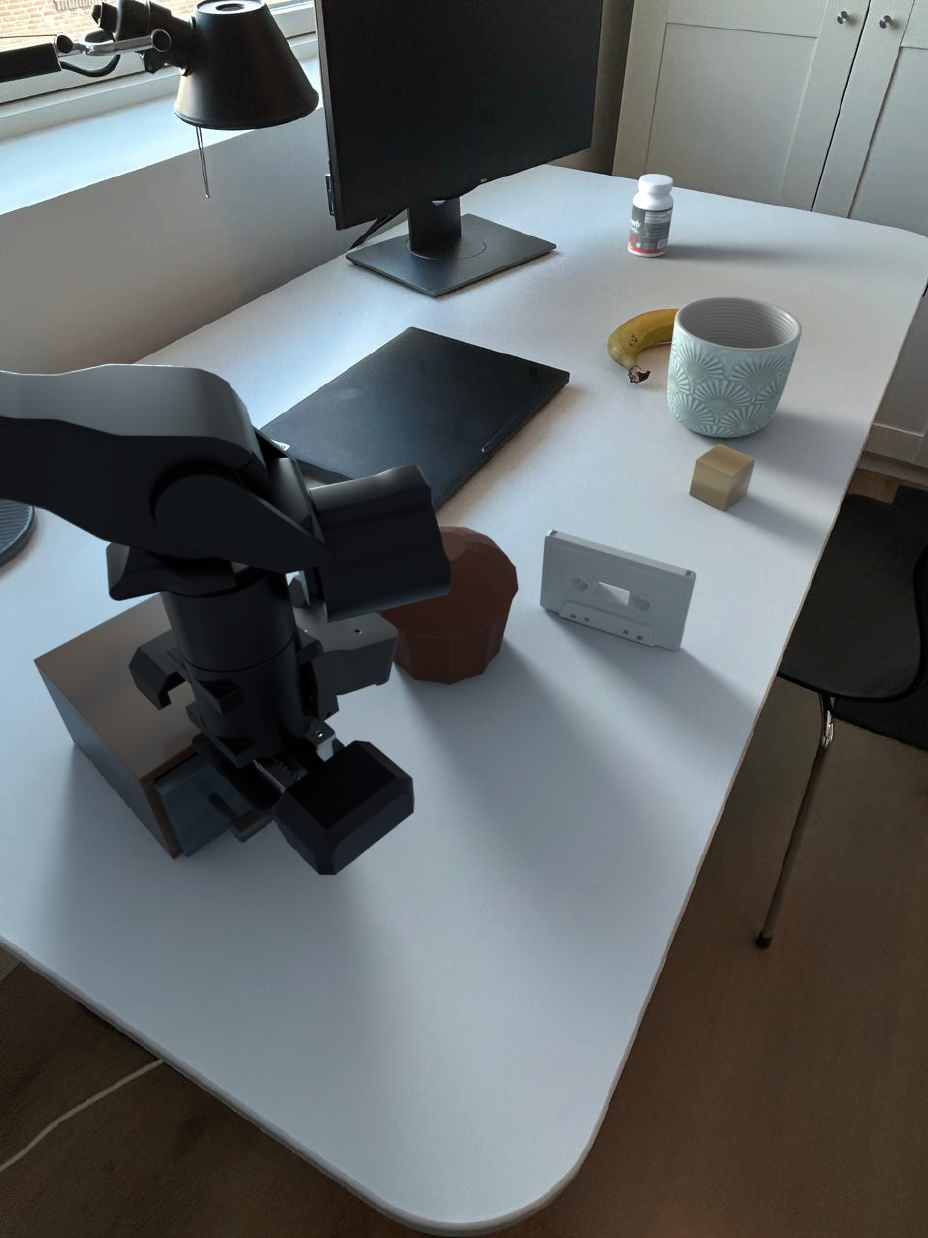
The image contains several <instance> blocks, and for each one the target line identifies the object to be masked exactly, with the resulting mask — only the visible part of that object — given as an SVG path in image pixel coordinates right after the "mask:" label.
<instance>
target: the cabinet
mask: <svg viewBox="0 0 928 1238" xmlns="http://www.w3.org/2000/svg"><path fill="white" fill-rule="evenodd" d="M171 628H172V627H171V624H170V622H169V619H168V616H167V613H166V610H165V607H164V604H163V601H162V598H161V595H160V592H158V593H155V594H153V595H152V596H149V597H148V598H146V599H144V600H143V601H141V602H138V603H137V604H135V605H133V606H131V607H129V608H127V609H126V610H123V611H122V612H120V613H118V614H116V615H114V616H113V617H110V618H108V619H106V620H105V621H103V622H101V623H100V624H97V625H95V626H93V627H92V628H90V629H88V630H86V631H84V632H83V633H81V634H79V635H76V636H75V637H73V638H71V639H70V640H68V641H65V642H63V643H62V644H60V645H58V646H56V647H54V648H52V649H50V650H49V651H47V652H46V653H43V654H41V655H39V656H38V657H35V658H34V659H33V662H34V665H35V667H36V668H37V671H38V673H39V674H40V677H41V680H42V682H43V683H44V685H45V688H46V690H47V691H48V694H49V695H50V698H51V699H52V701H53V704H54V706H55V707H56V709H57V712H58V713H59V716H60V718H61V720H62V722H63V723H64V726H65V727H66V730H67V732H68V734H69V735H70V737H71V740H72V742H73V743H74V744H75V746H76V747H77V748H78V750H79V751H80V752H81V753H83V755H84V757H86V759H87V760H88V761H89V762H90V763H91V764H92V765H93V768H95V769H96V771H98V773H99V774H100V776H102V777H103V779H104V780H105V781H106V782H107V783H108V784H109V786H110V787H111V788H112V789H113V790H114V791H115V793H116V794H117V795H118V796H119V797H120V799H121V800H122V801H123V802H124V804H126V806H127V807H128V808H129V809H130V810H131V812H132V813H133V814H134V815H135V816H136V817H137V819H138V820H139V821H140V823H142V825H143V826H145V828H146V829H147V830H148V832H149V833H150V834H151V835H152V836H153V837H154V838H155V840H156V841H157V843H159V845H160V846H161V847H162V848H163V849H164V851H165V852H166V853H167V854H168V855H169V856H170V858H171V859H172V860H175V859H177V858H178V857H179V856H181V855H182V854H184V852H183V851H182V850H181V848H180V847H179V846H178V843H177V841H176V838H175V836H174V834H173V831H172V829H171V826H170V824H169V822H168V819H167V817H166V815H165V812H164V810H163V807H162V805H161V803H160V800H159V798H158V795H157V793H156V791H155V788H154V786H153V783H154V782H155V781H154V779H156V778H157V777H159V776H160V775H162V774H163V773H165V772H166V771H168V770H170V769H171V768H173V767H174V766H176V765H177V764H179V763H180V762H182V761H183V760H185V759H186V758H188V757H189V756H191V755H192V754H194V753H196V752H197V751H196V750H195V749H194V748H193V746H192V739H193V737H194V736H195V735H196V734H197V733H199V732H201V730H200V729H199V728H198V727H197V726H196V725H195V724H194V723H193V722H192V721H191V720H190V719H189V717H188V714H187V711H186V708H185V706H187V705H188V704H190V703H192V702H193V701H195V700H196V699H195V696H194V693H193V690H192V687H191V685H190V684H189V683H188V682H187V681H185V682H184V683H182V684H180V685H179V686H177V687H175V688H174V689H172V690H170V691H169V692H168V694H169V697H170V700H171V704H170V705H168V706H166V707H165V708H163V709H161V710H158V709H157V708H156V707H155V706H154V705H153V704H152V703H151V702H150V701H149V700H148V699H147V698H146V697H145V696H144V695H143V694H142V693H141V692H140V691H139V690H138V688H137V687H136V684H135V682H134V679H133V677H132V674H131V672H130V669H129V667H128V665H129V664H130V662H131V660H132V658H133V656H134V654H135V652H136V650H137V648H138V647H139V646H141V645H142V644H144V643H146V642H148V641H150V640H151V639H153V638H155V637H157V636H159V635H160V634H162V633H164V632H166V631H168V630H169V629H171Z"/></svg>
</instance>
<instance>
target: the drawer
mask: <svg viewBox="0 0 928 1238" xmlns="http://www.w3.org/2000/svg"><path fill="white" fill-rule="evenodd" d="M154 781H155V782H154V783H153V786H154V788H155V791H156V793H157V795H158V798H159V800H160V803H161V805H162V807H163V810H164V812H165V815H166V817H167V819H168V822H169V824H170V826H171V829H172V831H173V834H174V836H175V838H176V841H177V843H178V846H179V847H180V848H181V850H182V851H183V854H185V856H186V857H187V858H190V857H192V856H193V855H195V854H196V853H198V852H199V851H200V850H202V849H203V848H204V847H206V846H207V845H208V844H210V843H211V842H213V841H214V840H215V839H217V838H218V837H220V836H222V834H224V833H225V832H226V831H228V830H230V831H231V833H232V835H233V836H234V838H235V839H236V841H238V842H239V843H240V844H245V843H246V842H247V841H248V840H250V839H251V838H253V837H254V836H255V835H257V834H258V833H260V832H261V831H262V830H263V829H265V828H266V827H267V826H269V825H270V824H272V823H273V822H275V820H273V819H272V818H270V817H269V816H267V815H262V814H259V813H257V812H256V811H255V810H253V809H252V807H251V806H250V805H249V804H248V803H247V802H246V801H245V800H244V799H243V798H242V797H241V796H240V795H239V794H238V793H237V792H236V791H235V790H234V789H233V788H232V787H231V786H230V784H229V781H228V780H226V779H225V778H224V777H223V776H222V775H220V774H219V773H218V772H217V771H216V770H215V769H214V768H213V767H212V766H211V765H210V764H209V763H208V762H207V761H206V760H205V759H204V758H203V757H202V756H201V755H200V754H199V753H198V752H196V753H194V754H192V755H191V756H189V757H188V758H186V759H185V760H183V761H182V762H180V763H179V764H177V765H176V766H174V767H173V768H171V769H170V770H168V771H166V772H165V773H163V774H162V775H160V776H159V777H157V778H156V779H154Z"/></svg>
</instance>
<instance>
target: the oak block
mask: <svg viewBox="0 0 928 1238" xmlns="http://www.w3.org/2000/svg"><path fill="white" fill-rule="evenodd" d="M756 461H757V460H756V458H753V457H752V456H749V455H747V454H745V453H742V452H740V451H738V450H737V449H736V450H735V449H733V448H731V447H729V446H727V445H725V444H722V443H718V444H716V445H715V446H714V447H712V448H711V449H709V450H708V451H706V452H705V453H703V454H702V455H700V456H699V457H698V458H696V459H695V463H694V468H693V473H692V477H691V482H690V486H689V487H690V488H689V492H688V495H690V496H692V497H694V498H695V499H698V500H700V501H702V502H704V503H706V504H708V505H710V506H712V507H714V508H716V509H718V510H721V511H722V512H725V511H726V510H728V509H729V508H730V507H732V506H733V505H734V504H736V503H737V502H738V501H739V500H741V499H743V498H744V497H745V496H746V495H747V494H748V490H749V487H750V483H751V480H752V476H753V471H754V469H755V468H754V467H755V464H756Z"/></svg>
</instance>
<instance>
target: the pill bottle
mask: <svg viewBox="0 0 928 1238" xmlns="http://www.w3.org/2000/svg"><path fill="white" fill-rule="evenodd" d="M673 185H674V179H673V178H672V177H670V176H668V175H665V174H659V173H648V174H645V175H641V176H640V177H639V180H638V185H637V186H638V189H639V191H638V193H636V194H635V196H634V197H633V201H632V206H631V207H632V208H631V216H630V224H629V230H628V239H627V249H628V252H630V253H631V254H632V255H634V256H638V257H643V258H656V257H659V256H662V255H663V254H665V253H666V252H667V248H668V243H669V235H670V230H671V229H670V228H671V222H672V216H673V210H674V209H673V208H674V198H673V196H672V195H671V194H670V193H671V192H672V190H673Z"/></svg>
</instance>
